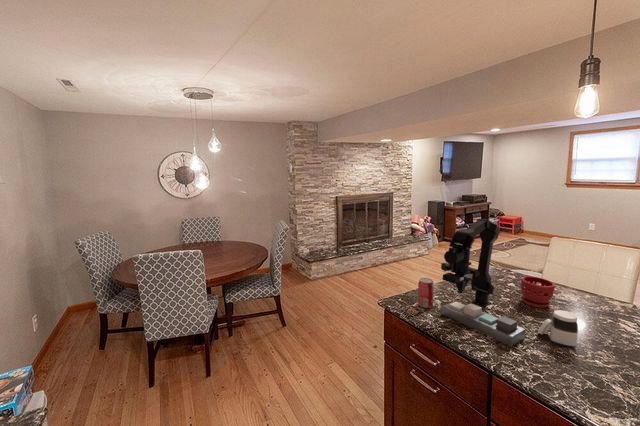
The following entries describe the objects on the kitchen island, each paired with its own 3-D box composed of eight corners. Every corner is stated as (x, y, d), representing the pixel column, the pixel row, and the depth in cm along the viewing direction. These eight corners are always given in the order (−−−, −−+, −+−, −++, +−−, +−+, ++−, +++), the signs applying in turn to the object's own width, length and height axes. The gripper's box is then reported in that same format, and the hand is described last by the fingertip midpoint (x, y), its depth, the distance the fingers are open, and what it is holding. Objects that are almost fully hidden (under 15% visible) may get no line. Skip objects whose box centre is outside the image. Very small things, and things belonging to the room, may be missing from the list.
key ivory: (455, 310, 138) (456, 301, 138) (465, 314, 134) (466, 305, 134) (449, 313, 136) (449, 304, 135) (459, 317, 132) (459, 308, 131)
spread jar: (577, 352, 107) (581, 322, 105) (539, 343, 113) (542, 314, 111) (571, 337, 117) (575, 309, 115) (536, 329, 123) (539, 302, 121)
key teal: (485, 323, 127) (486, 313, 126) (497, 328, 122) (498, 318, 122) (478, 326, 124) (479, 316, 123) (490, 331, 120) (491, 321, 119)
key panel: (455, 308, 141) (455, 300, 141) (524, 338, 116) (525, 329, 116) (441, 314, 136) (442, 306, 136) (511, 346, 111) (512, 336, 110)
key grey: (470, 312, 132) (470, 303, 132) (481, 317, 128) (481, 307, 127) (463, 315, 130) (464, 306, 129) (474, 320, 125) (475, 310, 125)
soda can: (434, 309, 141) (435, 283, 139) (418, 308, 143) (419, 282, 141) (431, 303, 148) (432, 278, 146) (416, 301, 149) (417, 277, 148)
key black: (502, 326, 120) (503, 316, 120) (516, 331, 116) (517, 321, 116) (496, 329, 118) (497, 319, 117) (509, 335, 114) (510, 325, 113)
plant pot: (523, 307, 142) (525, 283, 141) (516, 296, 154) (518, 274, 153) (556, 312, 137) (559, 287, 136) (547, 300, 150) (549, 277, 148)
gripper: (458, 252, 142) (456, 283, 144) (432, 258, 133) (431, 291, 135) (481, 257, 133) (478, 291, 135) (455, 265, 123) (453, 300, 125)
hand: (460, 293), depth 133 cm, fingers closed
